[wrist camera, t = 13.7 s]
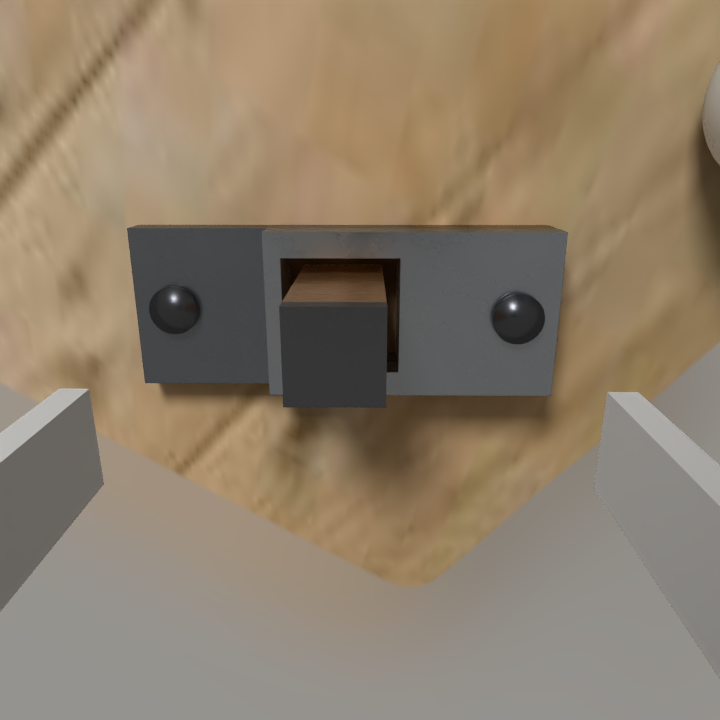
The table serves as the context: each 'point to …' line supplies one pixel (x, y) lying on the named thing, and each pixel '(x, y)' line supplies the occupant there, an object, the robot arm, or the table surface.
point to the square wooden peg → (335, 337)
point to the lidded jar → (712, 114)
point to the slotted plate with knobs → (413, 304)
